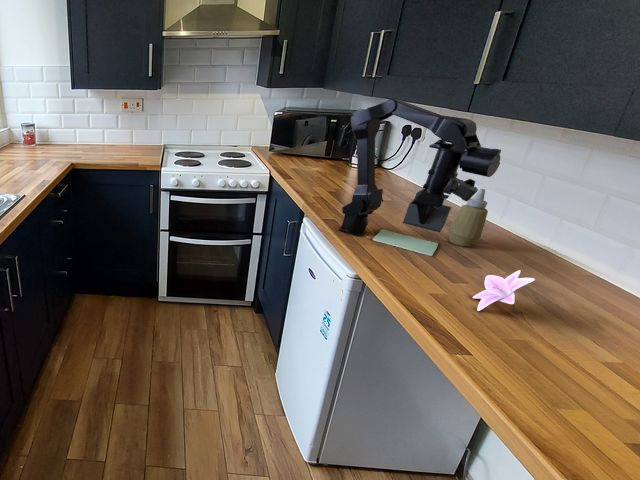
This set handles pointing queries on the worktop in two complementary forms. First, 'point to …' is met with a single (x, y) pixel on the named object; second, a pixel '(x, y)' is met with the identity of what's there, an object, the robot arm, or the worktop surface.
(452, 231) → the squeeze bottle
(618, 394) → the worktop surface
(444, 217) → the bin
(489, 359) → the worktop surface
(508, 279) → the lily
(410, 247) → the mat
